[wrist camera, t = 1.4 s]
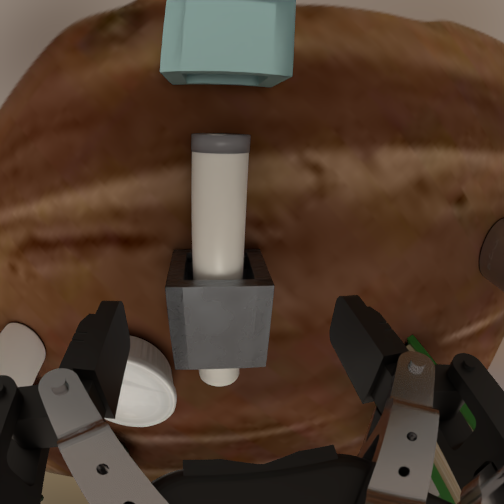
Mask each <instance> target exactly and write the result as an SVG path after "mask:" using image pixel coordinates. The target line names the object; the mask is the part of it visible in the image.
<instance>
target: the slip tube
mask: <svg viewBox="0 0 504 504" xmlns="http://www.w3.org/2000/svg"><path fill="white" fill-rule="evenodd" d="M250 137H251V135H246V134H230V133H196V134H192V138H191V151H192V182H191V204H192V260H193V280H242V279H243V264H244V242H245V221H246V201H247V180H248V161H249V152H250ZM199 375H200V378H201V379H202V380H203V381H204V382H205V383H207V384H209V385H212V386H226V385H229V384H231V383H233V382H234V381H235V380H236V379H237V378H238V375H239V368H231V369H199Z"/></svg>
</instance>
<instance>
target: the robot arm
mask: <svg viewBox="0 0 504 504" xmlns="http://www.w3.org/2000/svg"><path fill="white" fill-rule="evenodd" d="M480 271H481V273H482V275H483V276H484V277H485V278H486V279H488V280H489V281H490V282H492V283H493V284H494V285H496V286H497V287H498V288H499V289H501V290H502V291H503V292H504V218H503V219H501V220H499V221H498V222H497V223H496V224H495V225H494V226H493V227H492V229H491V230H490V232H489V233H488V235H487V237H486V239H485V241H484V244H483V247H482V250H481V254H480ZM330 341H331V344H332V346H333V348H334V349H335V351H336V353H337V355H338V357H339V359H340V361H341V363H342V365H343V367H344V368H345V370H346V372H347V374H348V376H349V378H350V380H351V382H352V384H353V386H354V388H355V390H356V392H357V394H358V396H359V397H360V399H361V401H362V403H363V404H364V403H369V402H373V401H374V402H375V403H376V407H375V409H374V411H373V414H372V417H371V420H370V423H369V426H368V429H367V432H366V435H365V438H364V441H363V444H362V447H361V449H360V451H359V453H358V455H357V456H352V455H346V454H337V453H336V450H335V448H334V445H330V446H325V447H320V448H315V449H309V450H303V451H298V452H296V453H293V454H291V455H288V456H285V457H283V458H280V459H277V460H275V461H272V462H269V463H266V464H251V463H243V462H236V461H229V460H223V459H216V460H183V469H182V470H178V471H174V472H171V473H168V474H166V475H163V476H161V477H159V478H157V479H156V480H154V481H152V482H150V481H149V480H148V479H147V478H146V476H145V475H144V474H143V473H142V471H141V470H140V469H139V467H138V466H137V465H136V464H135V462H134V461H133V460H132V458H131V457H130V456H129V454H128V453H127V451H126V450H125V449H124V447H123V446H122V444H121V443H120V442H119V440H118V439H117V437H116V436H115V434H114V433H113V431H112V430H111V428H110V427H109V425H108V424H107V422H106V421H105V420H104V418H109V419H115V416H116V411H117V406H118V401H119V396H120V391H121V386H122V382H123V377H124V373H125V369H126V364H127V360H128V356H129V352H130V335H129V330H128V325H127V320H126V315H125V310H124V305H123V303H122V301H102V302H101V303H100V305H99V308H98V310H97V312H96V314H89V315H88V316H86V317H85V318H84V319H83V320H82V321H81V322H80V324H79V326H78V328H77V330H76V333H75V334H74V336H73V338H72V341H71V342H70V344H69V347H68V349H67V351H66V353H65V355H64V358H63V360H62V362H61V364H60V367H59V369H55V370H52V371H50V372H48V373H46V374H45V375H44V376H43V377H42V378H41V380H40V382H39V384H38V385H32V386H23V387H18V386H17V385H16V383H15V381H14V380H13V379H12V378H11V377H9V376H6V375H0V504H40V502H41V493H42V487H43V481H44V475H45V469H46V464H47V458H48V453H49V448H50V447H59V449H60V452H61V454H62V456H63V458H64V460H65V462H66V464H67V466H68V467H69V469H70V471H71V473H72V475H73V477H74V479H75V480H76V482H77V484H78V486H79V487H80V489H81V491H82V492H83V494H84V496H85V498H86V499H87V501H88V502H89V504H453V503H451V502H448V501H446V500H444V499H442V498H440V497H437V496H435V495H433V494H431V493H429V492H428V489H429V484H430V479H431V474H432V469H433V463H434V457H435V450H436V442H437V443H438V445H439V447H440V449H441V451H442V453H443V455H444V457H445V459H446V461H447V463H448V465H449V467H450V469H451V471H452V473H453V475H454V477H455V479H456V481H457V483H458V485H459V487H460V490H461V494H460V501H459V502H458V503H457V504H504V391H503V390H502V389H501V387H500V386H499V385H498V383H497V382H496V381H495V379H494V378H493V377H492V376H491V375H490V373H489V372H488V371H487V369H486V368H485V367H484V366H483V364H482V363H481V362H480V361H479V360H478V359H477V358H476V357H474V356H472V355H470V354H465V353H460V354H457V355H456V356H455V357H454V358H453V360H452V362H451V364H450V365H436V364H434V363H433V361H432V360H431V359H430V358H429V357H428V356H426V355H425V354H422V353H420V352H416V351H409V350H408V348H407V347H406V346H405V345H404V343H403V342H402V341H401V339H400V338H399V337H398V336H397V334H396V333H395V332H394V331H393V330H392V329H391V327H390V325H389V324H388V323H386V320H385V319H384V318H383V317H382V315H381V314H380V313H379V312H377V311H376V310H374V309H373V308H371V307H367V306H366V305H365V303H364V302H363V301H362V300H361V298H360V297H359V296H358V295H352V296H339V297H338V298H337V300H336V304H335V309H334V313H333V318H332V322H331V326H330ZM464 403H466V405H467V407H468V408H469V410H470V411H471V413H472V414H473V416H474V417H475V420H476V427H475V430H474V431H472V429H471V428H470V426H469V424H468V423H467V421H466V420H465V418H464V416H463V415H462V413H461V412H460V409H461V407H462V406H463V404H464Z"/></svg>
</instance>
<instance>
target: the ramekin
mask: <svg viewBox="0 0 504 504" xmlns="http://www.w3.org/2000/svg"><path fill="white" fill-rule="evenodd" d="M176 401H177V395H176V390H175V387H174V385H173V379H172V373H171V368H170V365H169V363H168V361H167V359H166V358H165V356H164V355H163V354H162V353H161V351H160V350H158V349H157V348H156V347H155V346H153V345H152V344H151V343H149V342H147V341H145V340H143V339H141V338H138V337H134V336H130V352H129V356H128V360H127V364H126V369H125V373H124V377H123V382H122V386H121V391H120V396H119V401H118V406H117V411H116V416H115V419H109V418H104V419H106V420H109V421H111V422H114V423H117V424H121V425H126V426H134V427H147V426H152V425H155V424H158V423H161V422H163V421H164V420H166V419H167V418H168V417H170V416H171V415H172V413H173V412H174V410H175V407H176Z"/></svg>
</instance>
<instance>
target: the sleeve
mask: <svg viewBox="0 0 504 504" xmlns="http://www.w3.org/2000/svg"><path fill="white" fill-rule="evenodd" d="M165 291H166V301H167V310H168V319H169V327H170V335H171V343H172V351H173V358H174V364H175V369H231V368H251V367H266V359H267V350H268V341H269V332H270V323H271V313H272V304H273V294H274V284H273V281H272V279H271V276H270V274H269V271H268V269H267V266H266V264H265V261H264V259H263V256H262V254H261V251H260V249H244V264H243V279H242V280H193V260H192V250H173V254H172V259H171V263H170V267H169V272H168V277H167V281H166V286H165Z"/></svg>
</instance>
